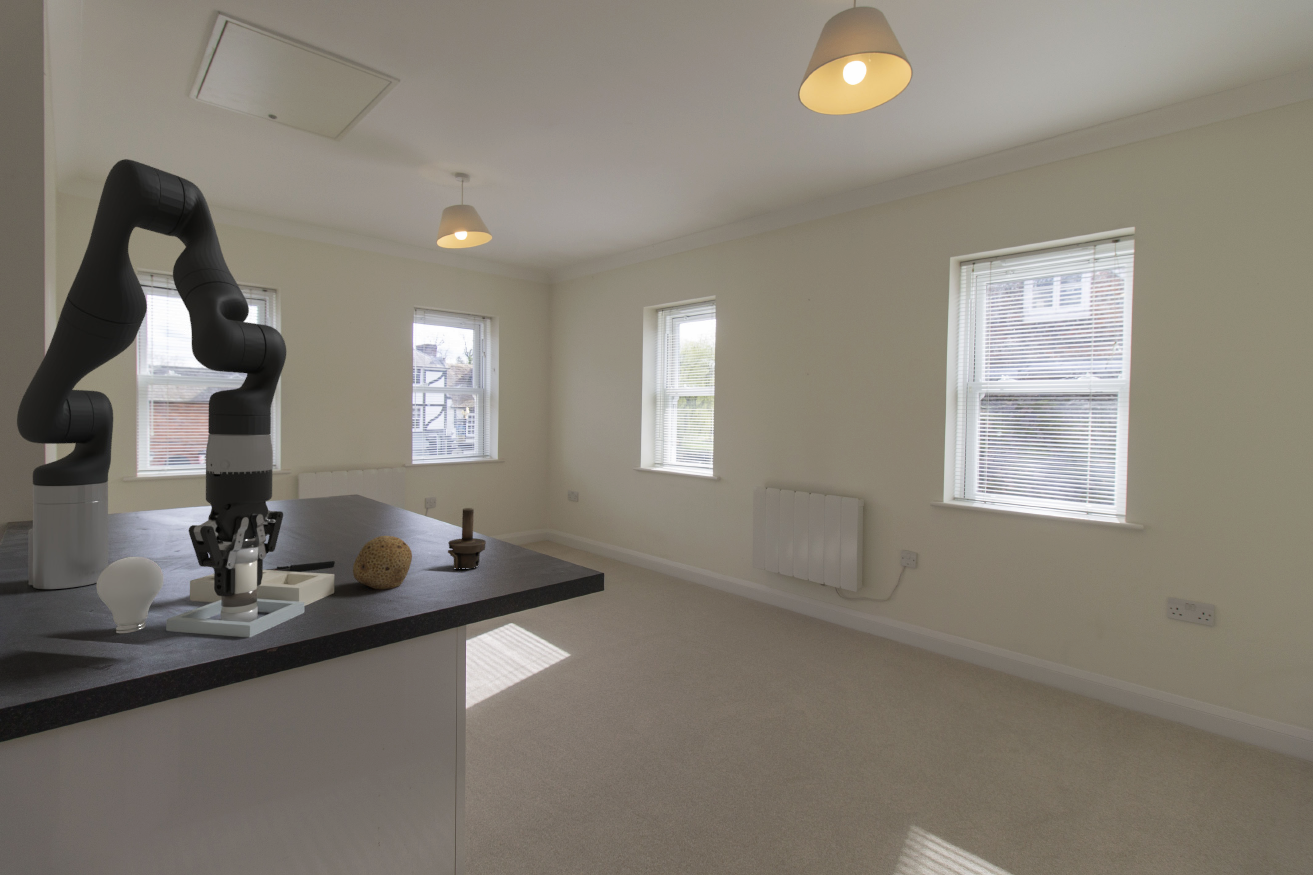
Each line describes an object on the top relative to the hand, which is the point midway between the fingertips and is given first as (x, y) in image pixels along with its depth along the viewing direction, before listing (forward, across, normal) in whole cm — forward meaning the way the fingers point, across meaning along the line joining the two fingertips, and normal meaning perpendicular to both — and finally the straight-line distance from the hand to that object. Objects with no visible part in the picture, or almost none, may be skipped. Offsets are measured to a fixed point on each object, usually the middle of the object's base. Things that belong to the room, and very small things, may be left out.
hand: (239, 589), depth 82 cm
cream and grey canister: (+4, 0, 0) cm, 4 cm away
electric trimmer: (+6, -24, -12) cm, 28 cm away
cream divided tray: (+6, -10, -5) cm, 13 cm away
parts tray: (+6, 0, 0) cm, 6 cm away
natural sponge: (+6, -20, +9) cm, 23 cm away
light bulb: (+6, +5, -11) cm, 14 cm away
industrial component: (+6, -40, +16) cm, 44 cm away
